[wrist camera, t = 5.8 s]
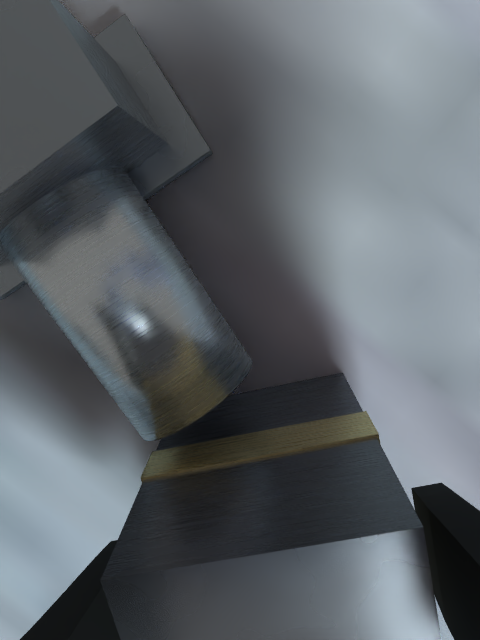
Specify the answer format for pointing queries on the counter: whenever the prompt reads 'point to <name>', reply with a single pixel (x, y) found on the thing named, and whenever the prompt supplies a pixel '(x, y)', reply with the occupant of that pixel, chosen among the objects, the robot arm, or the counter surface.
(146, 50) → the shaft
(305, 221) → the counter surface
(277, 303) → the counter surface
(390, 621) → the block
